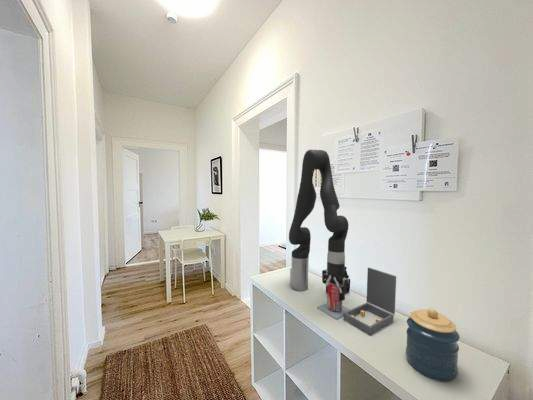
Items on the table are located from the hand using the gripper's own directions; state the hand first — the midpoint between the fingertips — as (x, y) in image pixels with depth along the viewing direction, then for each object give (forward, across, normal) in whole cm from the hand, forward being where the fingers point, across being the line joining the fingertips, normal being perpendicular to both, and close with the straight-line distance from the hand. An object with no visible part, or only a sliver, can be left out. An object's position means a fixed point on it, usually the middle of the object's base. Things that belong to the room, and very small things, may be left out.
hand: (334, 297), depth 100 cm
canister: (+6, +37, 0) cm, 38 cm away
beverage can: (+6, 0, 0) cm, 6 cm away
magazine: (+6, -10, +14) cm, 18 cm away
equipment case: (+6, +13, +5) cm, 15 cm away
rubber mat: (+6, 0, 0) cm, 6 cm away
